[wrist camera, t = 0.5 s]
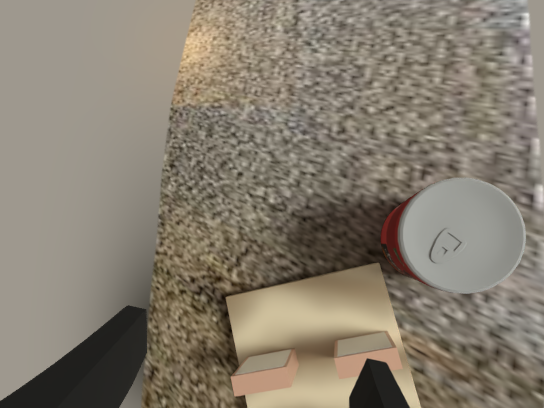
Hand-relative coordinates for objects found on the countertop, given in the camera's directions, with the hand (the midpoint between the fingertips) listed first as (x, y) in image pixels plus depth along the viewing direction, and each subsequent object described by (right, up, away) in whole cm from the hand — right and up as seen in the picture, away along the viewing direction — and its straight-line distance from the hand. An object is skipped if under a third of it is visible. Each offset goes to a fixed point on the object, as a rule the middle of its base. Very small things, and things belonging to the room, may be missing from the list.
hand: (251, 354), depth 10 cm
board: (+6, -11, +22) cm, 25 cm away
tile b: (+1, -11, +21) cm, 24 cm away
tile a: (+9, -8, +20) cm, 23 cm away
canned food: (+16, +1, +22) cm, 27 cm away
